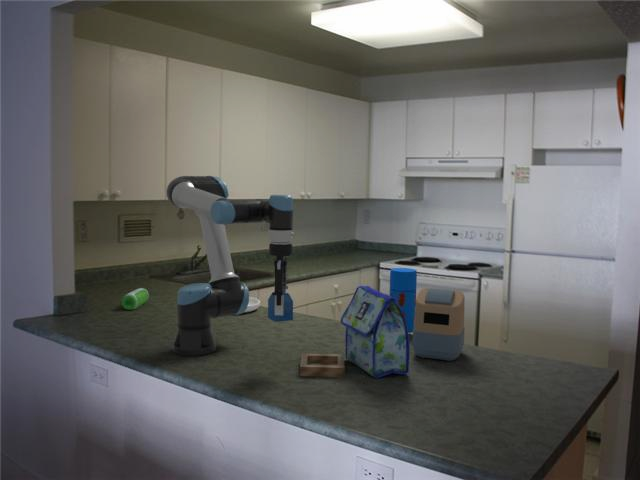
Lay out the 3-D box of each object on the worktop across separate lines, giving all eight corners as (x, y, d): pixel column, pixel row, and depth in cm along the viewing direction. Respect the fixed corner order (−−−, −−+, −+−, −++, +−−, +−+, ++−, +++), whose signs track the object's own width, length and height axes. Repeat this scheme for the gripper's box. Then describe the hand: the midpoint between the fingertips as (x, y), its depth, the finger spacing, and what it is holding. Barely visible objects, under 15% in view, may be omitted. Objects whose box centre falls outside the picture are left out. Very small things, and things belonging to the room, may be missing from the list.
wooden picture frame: (300, 375, 191) (300, 366, 191) (302, 362, 205) (302, 353, 205) (344, 377, 191) (344, 367, 191) (343, 363, 205) (343, 354, 205)
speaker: (135, 302, 293) (135, 287, 292) (150, 302, 292) (149, 287, 291) (120, 310, 275) (120, 294, 274) (136, 311, 275) (135, 294, 274)
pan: (231, 318, 264) (231, 304, 263) (168, 303, 291) (168, 290, 290) (271, 309, 283) (271, 296, 283) (209, 296, 311) (209, 283, 310)
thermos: (413, 333, 244) (416, 272, 241) (387, 332, 246) (389, 271, 243) (415, 327, 254) (417, 268, 252) (389, 325, 257) (391, 267, 254)
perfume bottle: (275, 321, 194) (275, 285, 193) (267, 317, 200) (268, 281, 198) (292, 320, 197) (293, 283, 196) (285, 316, 202) (285, 280, 201)
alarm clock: (409, 358, 211) (412, 293, 209) (419, 346, 227) (421, 285, 224) (458, 364, 206) (461, 297, 203) (464, 351, 221) (467, 288, 219)
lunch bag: (337, 360, 208) (338, 285, 205) (379, 355, 214) (381, 282, 211) (367, 381, 187) (369, 298, 184) (413, 375, 194) (416, 295, 191)
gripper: (290, 246, 185) (289, 319, 187) (294, 239, 206) (294, 305, 208) (265, 246, 185) (265, 319, 187) (272, 239, 206) (272, 304, 209)
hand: (280, 311), depth 198 cm, fingers closed on perfume bottle, 8 cm apart
